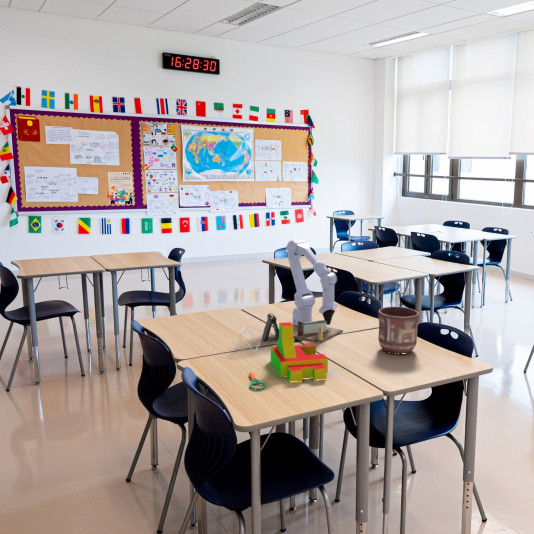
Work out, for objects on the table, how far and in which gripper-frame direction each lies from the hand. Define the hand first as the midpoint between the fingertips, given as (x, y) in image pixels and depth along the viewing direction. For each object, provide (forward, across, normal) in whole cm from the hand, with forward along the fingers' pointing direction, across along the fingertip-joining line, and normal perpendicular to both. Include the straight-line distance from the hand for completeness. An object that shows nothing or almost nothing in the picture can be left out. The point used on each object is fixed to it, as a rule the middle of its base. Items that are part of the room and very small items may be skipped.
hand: (327, 324), depth 282 cm
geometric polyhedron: (+4, -44, +15) cm, 47 cm away
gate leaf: (+2, -10, +2) cm, 10 cm away
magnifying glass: (+4, -76, -10) cm, 77 cm away
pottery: (+4, -9, -40) cm, 41 cm away
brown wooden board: (+3, -8, 0) cm, 9 cm away
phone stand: (+4, -27, +15) cm, 31 cm away
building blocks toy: (+4, -54, -17) cm, 57 cm away
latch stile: (+2, -18, -6) cm, 19 cm away
